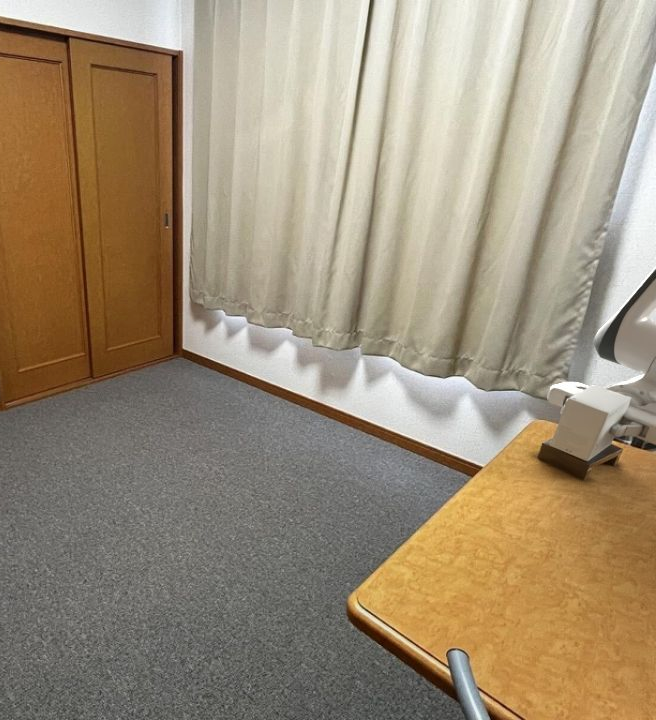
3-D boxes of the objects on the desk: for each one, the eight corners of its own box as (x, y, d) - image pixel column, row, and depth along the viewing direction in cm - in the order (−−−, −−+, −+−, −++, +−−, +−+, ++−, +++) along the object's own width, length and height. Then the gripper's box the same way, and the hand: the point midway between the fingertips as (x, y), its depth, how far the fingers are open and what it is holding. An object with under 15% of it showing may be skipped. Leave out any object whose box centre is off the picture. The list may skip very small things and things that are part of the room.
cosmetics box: (589, 463, 85) (609, 412, 81) (548, 446, 90) (565, 397, 86) (613, 445, 90) (633, 396, 86) (573, 429, 95) (590, 383, 91)
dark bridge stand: (616, 466, 90) (623, 448, 89) (582, 482, 86) (589, 464, 85) (569, 445, 97) (575, 428, 96) (536, 459, 93) (542, 442, 91)
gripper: (574, 370, 100) (534, 383, 95) (705, 413, 83) (665, 433, 78) (565, 396, 103) (526, 411, 98) (690, 444, 86) (650, 464, 81)
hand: (589, 421), depth 88 cm, fingers closed on cosmetics box, 6 cm apart
